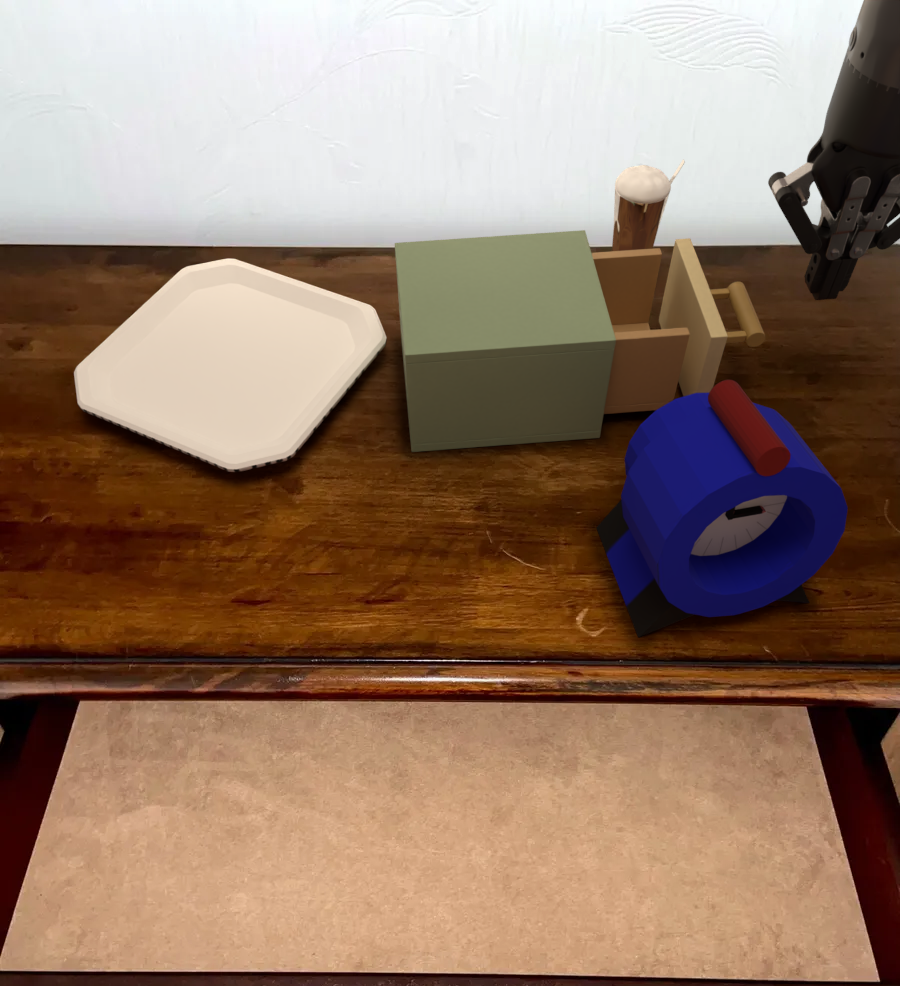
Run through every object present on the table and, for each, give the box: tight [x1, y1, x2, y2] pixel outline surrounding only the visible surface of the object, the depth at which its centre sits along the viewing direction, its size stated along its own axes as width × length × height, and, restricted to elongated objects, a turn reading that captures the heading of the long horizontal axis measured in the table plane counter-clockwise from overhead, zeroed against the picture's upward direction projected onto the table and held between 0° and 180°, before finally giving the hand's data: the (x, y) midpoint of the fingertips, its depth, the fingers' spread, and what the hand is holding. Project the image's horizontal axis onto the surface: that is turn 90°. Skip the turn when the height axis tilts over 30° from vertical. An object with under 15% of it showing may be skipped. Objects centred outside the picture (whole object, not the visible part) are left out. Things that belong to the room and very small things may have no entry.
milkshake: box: [611, 159, 686, 251], centre depth 81 cm, size 4×5×10 cm
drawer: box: [591, 237, 766, 415], centre depth 73 cm, size 18×11×8 cm, turn 95°
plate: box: [73, 258, 388, 473], centre depth 77 cm, size 21×21×2 cm
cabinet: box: [394, 229, 616, 453], centre depth 72 cm, size 15×13×10 cm
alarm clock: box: [596, 379, 848, 638], centre depth 60 cm, size 12×12×15 cm
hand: (821, 292), depth 71 cm, fingers closed
